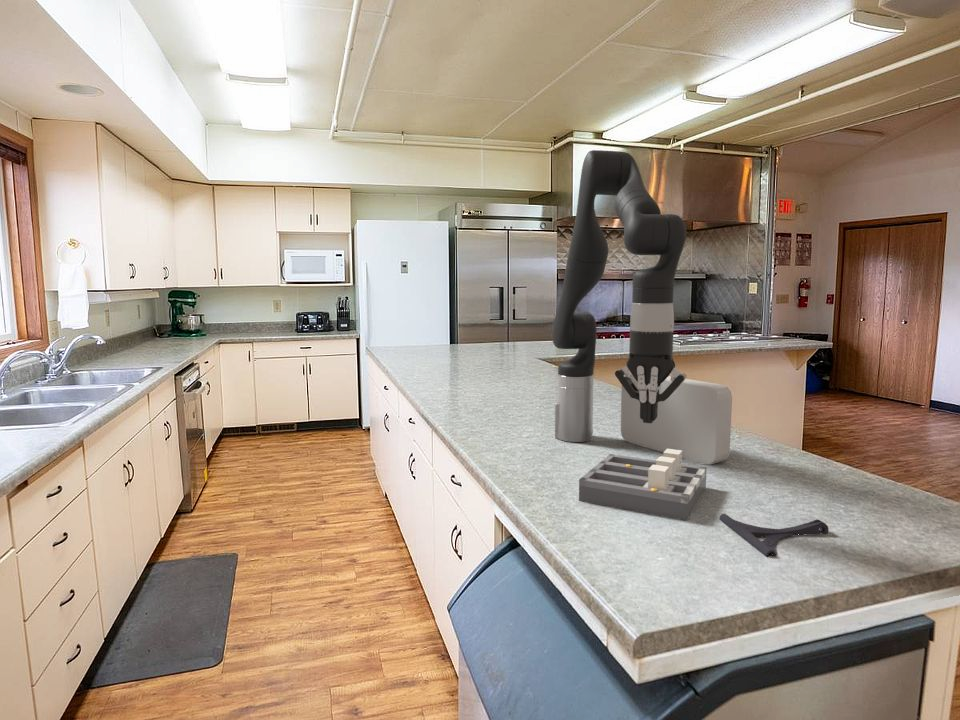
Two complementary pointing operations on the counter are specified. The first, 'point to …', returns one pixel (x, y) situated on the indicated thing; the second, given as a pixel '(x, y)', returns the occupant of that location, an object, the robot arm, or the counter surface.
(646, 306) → the robot arm
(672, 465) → the switch middle
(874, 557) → the counter surface
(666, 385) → the grey block
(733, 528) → the bracket
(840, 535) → the counter surface
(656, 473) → the switch front
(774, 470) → the counter surface
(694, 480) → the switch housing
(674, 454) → the switch back
